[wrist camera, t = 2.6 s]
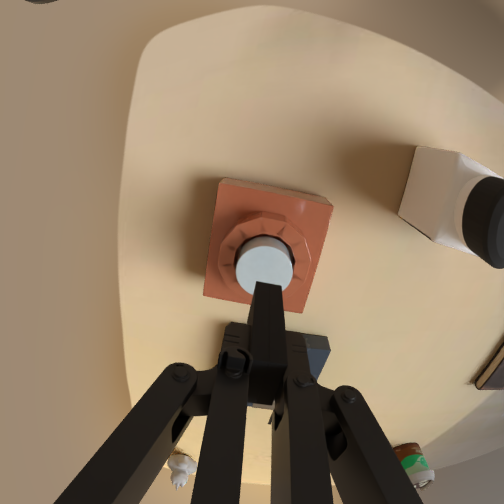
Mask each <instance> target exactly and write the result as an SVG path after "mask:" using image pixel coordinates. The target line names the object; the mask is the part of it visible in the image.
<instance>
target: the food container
mask: <svg viewBox="0 0 504 504" xmlns="http://www.w3.org/2000/svg"><path fill="white" fill-rule="evenodd" d="M393 450H394V452H395V453H396V455H397V457H398V459H399V461H400V462H401V464H402V466H403V468H404V469H405V471H406V473H407V475H408V477H409V478H410V480H411V482H412V484H413V486H414V488H420V490H421V491H423V490H425V489H426V488H428V487H429V486H430V485H432V484H433V482H434V471H433V470H430V469H429V467H428V465H427V462H426V460H425V458H424V456H423V453H422V451H421V449H420V447H419V445H418V444H417V443H407V444H403V445H400V446H398V447H395V448H393Z"/></svg>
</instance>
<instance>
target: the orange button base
mask: <svg viewBox="0 0 504 504" xmlns="http://www.w3.org/2000/svg"><path fill="white" fill-rule="evenodd" d="M333 208H334V206H333V205H332V204H331V203H330V202H329V201H328V200H327V199H326V198H324V197H320V196H316V195H311V194H307V193H302V192H298V191H293V190H288V189H284V188H279V187H274V186H269V185H264V184H259V183H253V182H248V181H243V180H237V179H231V178H226V177H225V178H224V179H223V180H222V181H221V182H220V183H219V185H218V191H217V197H216V204H215V210H214V217H213V224H212V230H211V237H210V244H209V252H208V259H207V267H206V274H205V282H204V290H203V296H207V297H212V298H217V299H222V300H227V301H233V302H238V303H243V304H249V305H251V302H252V298H253V295H252V294H250V293H248V292H246V291H245V290H244V289H243V288H242V287H241V286H240V284H239V283H238V281H237V278H236V265H237V260H238V256H239V253H240V250H241V249H242V247H243V246H244V245H245V244H246V243H247V242H248V241H250V240H251V239H254V238H256V237H262V236H267V237H272V238H275V239H277V240H279V241H281V242H282V243H283V244H284V245H285V246H286V247H287V249H288V251H289V253H290V257H291V263H292V268H293V275H292V279H291V281H290V283H289V285H288V286H287V287H286V288H285V289H284V290H283V291H282V295H283V306H284V311H289V312H296V313H303V310H304V307H305V304H306V300H307V297H308V294H309V291H310V288H311V285H312V281H313V278H314V275H315V272H316V268H317V265H318V262H319V258H320V255H321V251H322V248H323V244H324V241H325V237H326V234H327V230H328V227H329V223H330V219H331V215H332V212H333Z"/></svg>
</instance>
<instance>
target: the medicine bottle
mask: <svg viewBox="0 0 504 504" xmlns="http://www.w3.org/2000/svg"><path fill="white" fill-rule="evenodd" d="M398 216H399V217H400V218H401V219H403V220H404V221H405V222H407V223H408V224H410V225H411V226H412V227H414V228H415V229H417V230H418V231H419V232H421V233H422V234H423V235H425V236H426V237H428V238H429V239H430V240H432V241H433V242H435V243H438V244H442V245H445V246H448V247H451V248H454V249H457V250H460V251H463V252H466V253H469V254H472V255H475V256H478V257H480V258H481V259H483V260H484V261H485V262H487V263H488V264H489V265H491V266H492V267H494V268H497V269H502V268H504V178H502V177H501V176H499V175H498V174H496V173H494V172H493V171H491V170H490V169H488V168H486V167H485V166H483V165H481V164H480V163H478V162H476V161H474V160H473V159H471V158H469V157H467V156H466V155H464V154H462V153H460V152H455V151H449V150H443V149H437V148H430V147H422V146H418V147H416V150H415V154H414V158H413V162H412V166H411V170H410V173H409V177H408V181H407V184H406V188H405V191H404V195H403V198H402V202H401V205H400V208H399V211H398Z"/></svg>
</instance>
